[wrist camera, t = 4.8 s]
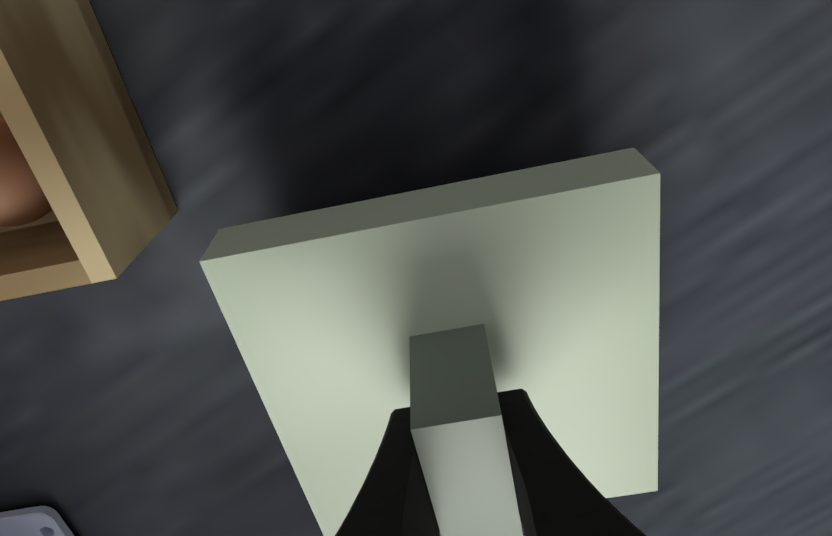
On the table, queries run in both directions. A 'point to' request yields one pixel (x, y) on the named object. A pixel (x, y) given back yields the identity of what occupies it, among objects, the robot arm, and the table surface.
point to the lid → (457, 331)
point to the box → (69, 154)
